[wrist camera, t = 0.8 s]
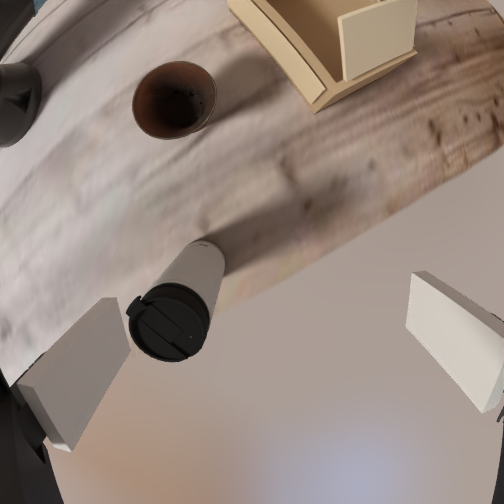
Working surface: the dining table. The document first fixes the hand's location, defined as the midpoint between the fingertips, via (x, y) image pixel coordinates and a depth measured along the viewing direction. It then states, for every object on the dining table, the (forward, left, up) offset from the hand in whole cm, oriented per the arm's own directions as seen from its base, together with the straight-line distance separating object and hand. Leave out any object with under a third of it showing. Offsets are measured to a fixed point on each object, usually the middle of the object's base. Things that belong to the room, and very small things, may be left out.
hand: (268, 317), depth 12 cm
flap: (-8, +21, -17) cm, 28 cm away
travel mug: (0, -9, -28) cm, 30 cm away
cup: (-17, +1, -28) cm, 33 cm away
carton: (-18, +21, -28) cm, 39 cm away
